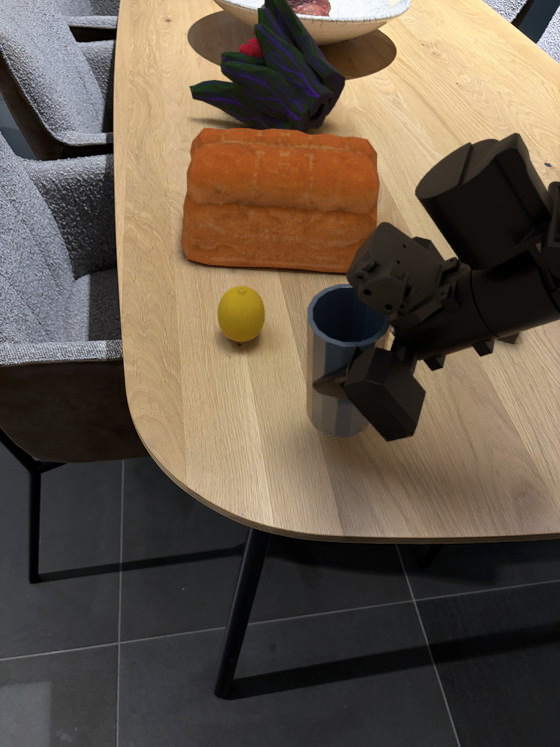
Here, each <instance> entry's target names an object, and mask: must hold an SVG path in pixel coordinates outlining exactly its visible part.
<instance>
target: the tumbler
mask: <svg viewBox="0 0 560 747" xmlns="http://www.w3.org/2000/svg"><path fill="white" fill-rule="evenodd" d="M357 292H358V291H357V290H356V289H354V288H353V287H352V286H351V285H350V284H349V283H338V284H334V285H331V286H328V287H325V288H323V289H322V290H320V291H319V292H318V293H316V294H315V295H313V297H312V298H311V300H310V302H309V304H308V306H307V308H306V310H307V311H306V380H305V381H306V389H305V390H306V392H305V396H306V397H305V399H306V400H305V409H306V415H307V418H308V420H309V422H310V424H311V425H312V426H313V427H314V428H315V429H316V430H317V431H319V432H320V433H322V434H323V435H325V436H328V437H332V438H336V439H347V438H352V437H355V436H357V435H360V434H361V433H363V432H364V431H366V430H367V429H368V427H370V426H371V424H370V423H369V422H368V420H367V419H366V418H365V417H364V416H363V415H362V414H361V413H360V412H359V410H358V409H357V408H356V407H355V406H354V405H353V404H352V403H351V401H348V400H344V399H339V398H335V397H331V396H327V395H323V394H320V393H318V392H317V391H316V390H315V389H314V388H313V387H312V384H313V382H314V381H316V380H317V379H319V378H321V377H323V376H325V375H327V374H329V373H331V372H333V371H335V370H337V369H340V368H342V367H344V366H346V365H348V364H349V362H350V360H351V357H352V354H353V352H354V349H355V347H356V346H357V345H358V347H359V348H360V349H361V350H362V351H363V352H364V351H366V350H369V349H372V348H375V347H379V348H382V349H386V350H388V343H389V338H390V334H391V332H390V328H391V325H390V323H389V322H388V320H389V317H390V315H381V314H379V313H378V312H376V311H375V310H373V309H372V308H371V307H369V306H368V305H366V304H365V303H363V302H362V301H360V300H359V298H358V294H357Z"/></svg>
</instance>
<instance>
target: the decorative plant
mask: <svg viewBox="0 0 560 747" xmlns="http://www.w3.org/2000/svg"><path fill="white" fill-rule="evenodd" d="M263 1H264V7H257V23H254V25H253V31H254V32H252V35H255V37H252V38H251V39H249V40H248V41H247V43H243V44H241V45H240V46H239V47H238V48H239V51H231V50H230V51H229V50H227V51H223V52H221V53H220V59H221V60H220V63H219V65H220V72H221V74H222V75H223V76H224V77H226V78H227V79H228V80H229V81H227V80H226V81H225V80H220V79H208V80H203V81H200V82H198V83H196V84H192V85H189V86H188V87H189V91H190V94H191V98H192V100H194V101H199V102H203V103H206V104H208V105H209V106H212V107H213V108H216V109H218V110H220V111H221V112H223V113H225V114H227V115H229V116H231V118H233V119H235V120H237V121H239V122H241V123H243V124H245V125H247V126H249V127H252V128H253V129H256V130H266V129H285V130H298V131H301V132H303V133H306V134H307V132H308V131H309V130H310V129H312V130H318V129H319V128H321V127H322V126H323V124H324V122H325V119H326V118H327V117H328V116H329V114H331V112H332V111H333V109H334V108H335V106H336V104H337V103H338V100H340V98H341V95H342V93H343V90H344V89H345V86H346V76H344V75H343V74H342V73H341V72H340V71H338V70H337V69H336V68H335V67H334V66H333V65H332V64H331V63H330V62H328V60H327V58H326V57H325V56H324V54H323V52H322V51H321V49H320V48H319V45H318V44H317V43H316V41H315V39H314V38H313V36H312V35H311V33H310V32H309V31H308V29H307V28H306V26H305V25H304V23H303V22H302V20H300V19H301V18H299V16H298V15H297V13H296V12H295V10H294V9H293V7H292V6H291V5H290V3H289V2H288V1H287V0H263Z"/></svg>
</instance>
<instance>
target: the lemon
mask: <svg viewBox="0 0 560 747" xmlns="http://www.w3.org/2000/svg"><path fill="white" fill-rule="evenodd" d="M217 307H218V308H217V322H218V326H219V328H220V330H221V332H222V333H223V334H224V335H225V337H226V338H228V339H230V340H231V341H233V342H238V343H239V342H240V343H244V342H249V341H251V340H253V339H255V338H256V337H257V336H258V335H259V334H260V332H262V329H263V327H264V324H265V321H266V309H265V305H264V301H263V298H262V296H260V294H259V293H258V291H257V290H255V289H253V288H252V287H249V286H246V285H237V286H234V287H231V288H229V289H228V290H226V291H225V292H224V293H223V295H222V296H221V298H220V300H219V302H218V306H217Z"/></svg>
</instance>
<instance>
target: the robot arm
mask: <svg viewBox="0 0 560 747" xmlns="http://www.w3.org/2000/svg"><path fill="white" fill-rule="evenodd" d="M414 196H415V197H416V199H417V200H418V201H419V203H420V205H421V206H422V208H423V209H424V210H425V212H426V213H427V215H428V216H429V218H430V219H431V221H432V222H433V224H434V225H435V227H436V228H437V230H438V231H439V232H440V234H441V236H442V237H443V239H444V240H445V241H446V243H447V244H448V245H449V247H450V248H451V251H452V252H453V253H454V255H455V256H453V257H450V258H448V259H445V258H444V257H443V255H442V254H441V252H440V251H439V249H438V248H437V247H436V245H435V244H434V242H433V240H431V239H429V238H425V237H421V236H417V235H416V236H413V237H411V236H409V235H408V234H406V233H405V232H403V231H402V230H401V229H399V228H398V227H397V226H395V225H393V224H392V223H390V222H387V221H381V222H380V223H379V224H377V226H376V229H375V230H374V231H373V232H372V233H371V234H370V236H369V237H368V238H367V239H366V240H365V241H364V242H363V244H362V245H361V246H360V247H359V248H358V249H357V251H356V253H355V254H356V255H355V257H354V259H353V261H352V263H351V265H350V267H349V269H348V271H347V273H346V274H345V278H346V280H347V283H348V284H350V285H351V286H352V287H353V288H354V289H356V290H357V291H358V292H357V294H358V298H359V300H360V301H362V302H363V303H365V304H366V305H368V306H369V307H371V308H372V309H373V310H375V311H376V312H378V313H379V314H381V315H390V317H389V320H388V322H389V323H390V325H391V328H390V334H391V335H392V336H393V340H392V344H391V347H390V349H387V350H386V349H382V348H379V347H375V348H372V349H369V350H366V351H364V352H363V351H362V350H361V349H360V348H359V347H358V345H357V346H356V347H355V349H354V352H353V354H352V357H351V360H350V362H349V364H348V365H346V366H344V367H342V368H340V369H337V370H335V371H333V372H331V373H329V374H327V375H325V376H323V377H321V378H319V379H317V380H316V381H314V382H313V384H312V387H313V388H314V389H315V390H316V391H317V392H318V393H320V394H323V395H327V396H331V397H335V398H339V399H344V400H348V401H351V403H352V404H353V405H354V406H355V407H356V408H357V409H358V410H359V412H360V413H361V414H362V415H363V416H364V417H365V418H366V419H367V420H368V422H369V423H370V426H372V427H373V428H374V430H375V431H376V432H377V433H378V434H379V436H381V438H383V440H384V441H385V442H386V443H389V442H394V441H399V440H402V439H407V438H412V437H414V436H415V433H416V431H417V428H418V425H419V422H420V418H421V413H422V410H423V405H424V403H425V399H426V394H427V391H426V389H425V388H424V387H423V386H422V385H421V384H420V382H419V381H418V379H416V377H415V376H414V375H415V372H416V368H417V364H418V361H419V362H420V361H423V362H424V363H425V365H426V366H427V367H428V369H429V370H430V371H431V372H434V371H438V370H441V369H444V366H445V363H446V362H445V361H446V357H447V356H448V355H452V354H456V353H458V352H462V351H464V350H468V349H470V348H473V349H474V351H475V352H476V354H477V356H478V357H479V358H481V357H485V356H488V355H492V354H494V348H495V343H496V341H497V339H500V338H503V337H506V336H509V335H512V334H516V333H519V332H520V333H521V332H525V331H528V330H532V329H535V328H537V327H541V326H544V325H547V324H550V323H553V322H557V321H560V181H559V180H554V181H551V182H550V183H549V184H548V186H547V187H546V185H545V184H544V182H543V180H542V179H541V176H540V175H539V173H538V171H537V169H536V167H535V166H534V164H533V162H532V160H531V156H530V150H529V148H528V146H527V144H526V142H525V141H524V139H523V137H522V135H521V134H520V133H518V132H513V133H510V134H509V135H507V136H505V137H503V138H502V139H500V140H499V139H496V138H485V139H482V140H479V141H476V142H474V143H472V142H471V141H469V142H466V143H465V144H463V145H461V146H460V147H458V148H456V149H454V150H452V152H450V153H449V154H447V155H446V156H444V157H443V158H441V159H440V160H439V161H438V162H437V163H435V164H434V165H433V166H432V167H431V168H430V169H429V170H428V171H427V172H426V173H425V174H424V175H423V176H422V178H421V179H420V181H419V182H418V184H417V185H416V186H415V189H414Z"/></svg>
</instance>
